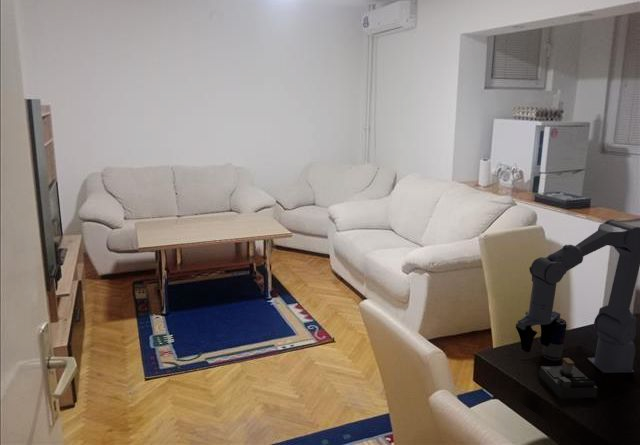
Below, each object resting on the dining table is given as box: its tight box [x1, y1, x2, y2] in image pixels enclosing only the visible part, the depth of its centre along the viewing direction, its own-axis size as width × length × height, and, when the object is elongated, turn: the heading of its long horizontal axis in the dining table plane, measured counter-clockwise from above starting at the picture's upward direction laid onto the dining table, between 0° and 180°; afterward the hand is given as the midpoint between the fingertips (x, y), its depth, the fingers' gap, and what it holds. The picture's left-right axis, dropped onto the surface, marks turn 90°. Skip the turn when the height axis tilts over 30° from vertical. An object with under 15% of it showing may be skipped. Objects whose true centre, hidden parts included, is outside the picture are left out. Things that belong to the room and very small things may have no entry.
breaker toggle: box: [560, 357, 575, 375], centre depth 138 cm, size 2×3×4 cm
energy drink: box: [541, 317, 568, 362], centre depth 152 cm, size 5×5×12 cm
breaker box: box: [538, 365, 599, 399], centre depth 137 cm, size 10×11×5 cm
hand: (535, 347), depth 139 cm, fingers open, 7 cm apart
